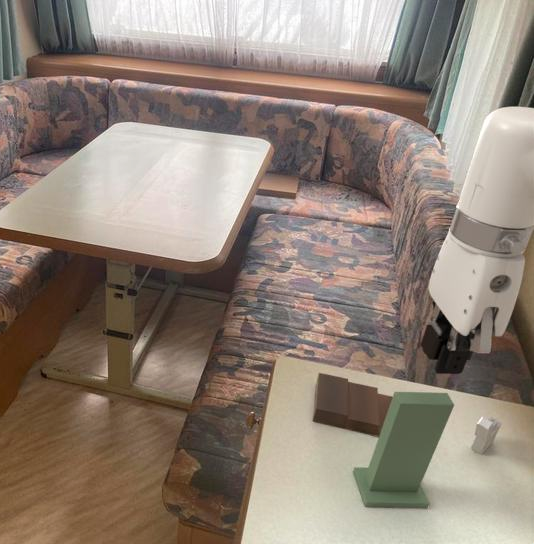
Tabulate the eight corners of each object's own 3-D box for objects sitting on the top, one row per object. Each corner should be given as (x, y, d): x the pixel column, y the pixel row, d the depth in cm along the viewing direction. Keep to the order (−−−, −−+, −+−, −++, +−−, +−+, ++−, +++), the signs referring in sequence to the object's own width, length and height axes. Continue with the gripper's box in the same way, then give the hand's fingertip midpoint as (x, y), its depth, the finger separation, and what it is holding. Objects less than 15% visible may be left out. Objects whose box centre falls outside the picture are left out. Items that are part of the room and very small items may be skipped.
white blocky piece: (482, 435, 93) (499, 399, 89) (492, 442, 92) (510, 405, 88) (461, 457, 89) (478, 420, 85) (472, 464, 88) (490, 427, 84)
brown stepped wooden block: (404, 404, 98) (409, 391, 97) (408, 443, 91) (413, 430, 89) (315, 385, 101) (318, 372, 100) (312, 421, 94) (316, 408, 92)
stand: (427, 507, 81) (469, 416, 71) (364, 506, 81) (398, 414, 71) (411, 472, 86) (448, 382, 77) (352, 471, 86) (382, 381, 76)
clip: (470, 360, 69) (480, 333, 67) (429, 359, 68) (438, 333, 66) (459, 345, 71) (469, 319, 69) (419, 345, 71) (428, 318, 69)
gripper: (571, 269, 54) (505, 411, 64) (487, 198, 68) (443, 323, 78) (493, 267, 54) (438, 410, 64) (424, 196, 68) (388, 322, 77)
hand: (441, 361), depth 70 cm, fingers closed on clip, 2 cm apart
